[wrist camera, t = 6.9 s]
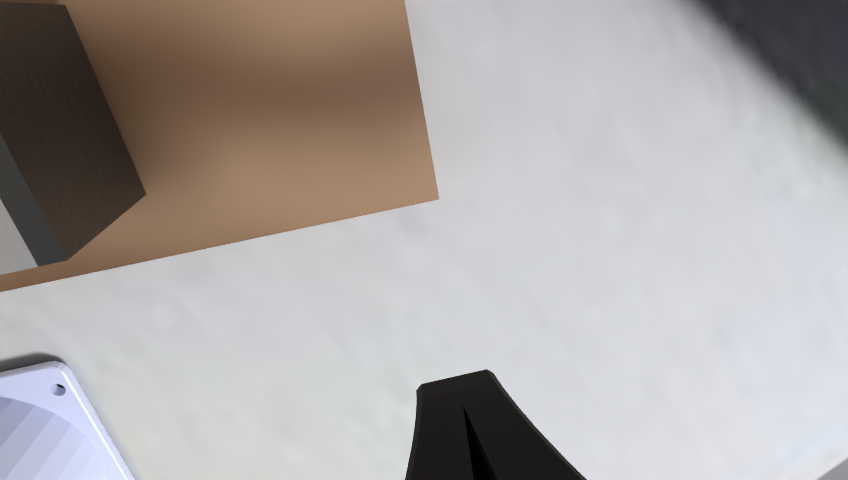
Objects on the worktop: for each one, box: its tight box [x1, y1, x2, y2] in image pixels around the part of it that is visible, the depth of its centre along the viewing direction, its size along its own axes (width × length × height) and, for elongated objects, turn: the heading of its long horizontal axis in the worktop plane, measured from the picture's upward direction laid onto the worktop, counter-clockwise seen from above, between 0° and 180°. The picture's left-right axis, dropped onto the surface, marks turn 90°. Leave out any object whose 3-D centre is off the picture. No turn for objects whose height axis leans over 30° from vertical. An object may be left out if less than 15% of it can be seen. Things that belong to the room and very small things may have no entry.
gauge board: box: [0, 0, 439, 292], centre depth 12 cm, size 9×18×6 cm, turn 100°
